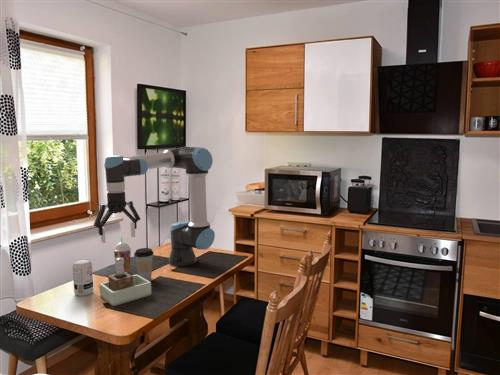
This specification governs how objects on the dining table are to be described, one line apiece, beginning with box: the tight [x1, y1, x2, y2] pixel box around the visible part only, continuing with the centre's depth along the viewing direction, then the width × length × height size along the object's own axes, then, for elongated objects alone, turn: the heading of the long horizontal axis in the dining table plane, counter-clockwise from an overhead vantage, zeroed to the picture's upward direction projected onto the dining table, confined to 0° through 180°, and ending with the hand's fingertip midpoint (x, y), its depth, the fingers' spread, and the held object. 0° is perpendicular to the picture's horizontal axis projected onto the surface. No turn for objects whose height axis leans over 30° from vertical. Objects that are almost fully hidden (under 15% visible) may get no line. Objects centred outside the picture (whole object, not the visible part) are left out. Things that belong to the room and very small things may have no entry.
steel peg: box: [114, 257, 125, 279], centre depth 184 cm, size 4×4×12 cm
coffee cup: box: [133, 247, 155, 281], centre depth 206 cm, size 9×9×15 cm
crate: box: [99, 273, 152, 307], centre depth 187 cm, size 18×14×6 cm
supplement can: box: [71, 258, 95, 297], centre depth 189 cm, size 8×8×15 cm
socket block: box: [107, 272, 133, 292], centre depth 185 cm, size 8×8×10 cm
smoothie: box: [113, 236, 131, 274], centre depth 213 cm, size 8×8×20 cm
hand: (118, 239), depth 182 cm, fingers open, 13 cm apart
